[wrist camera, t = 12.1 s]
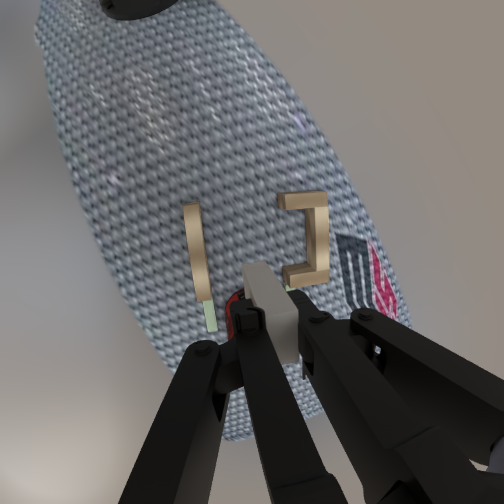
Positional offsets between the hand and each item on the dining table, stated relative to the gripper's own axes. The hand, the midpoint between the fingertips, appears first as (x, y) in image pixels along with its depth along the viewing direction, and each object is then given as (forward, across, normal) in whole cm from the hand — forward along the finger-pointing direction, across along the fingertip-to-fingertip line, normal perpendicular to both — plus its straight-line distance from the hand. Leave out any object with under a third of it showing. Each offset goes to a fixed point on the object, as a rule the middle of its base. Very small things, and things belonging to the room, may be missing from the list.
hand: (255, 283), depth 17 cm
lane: (+22, +4, -3) cm, 23 cm away
